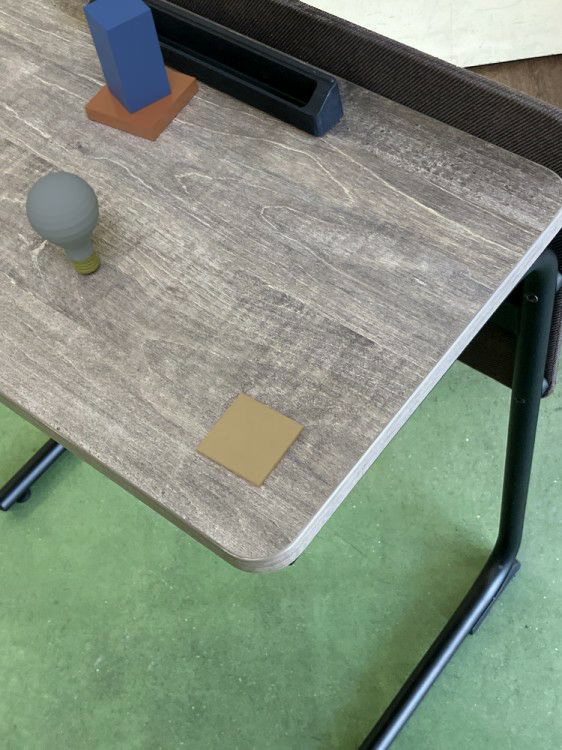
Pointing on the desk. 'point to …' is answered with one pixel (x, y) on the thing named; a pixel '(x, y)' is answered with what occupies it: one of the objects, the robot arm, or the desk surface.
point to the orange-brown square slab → (148, 118)
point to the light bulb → (66, 216)
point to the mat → (250, 439)
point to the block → (128, 51)
